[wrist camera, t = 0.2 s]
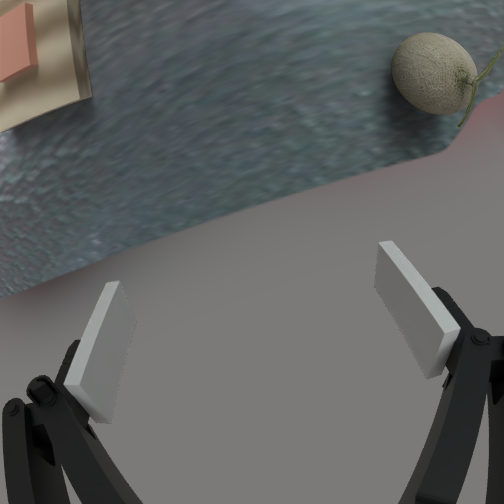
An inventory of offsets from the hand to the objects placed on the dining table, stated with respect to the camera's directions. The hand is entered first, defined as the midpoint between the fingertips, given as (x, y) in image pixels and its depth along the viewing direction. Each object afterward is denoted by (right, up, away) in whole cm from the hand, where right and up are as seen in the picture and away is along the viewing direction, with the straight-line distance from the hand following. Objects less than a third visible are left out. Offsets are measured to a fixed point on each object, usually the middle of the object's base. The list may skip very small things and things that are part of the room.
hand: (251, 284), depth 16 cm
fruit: (+22, +26, +19) cm, 39 cm away
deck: (-28, +30, +12) cm, 43 cm away
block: (-29, +28, +9) cm, 41 cm away
